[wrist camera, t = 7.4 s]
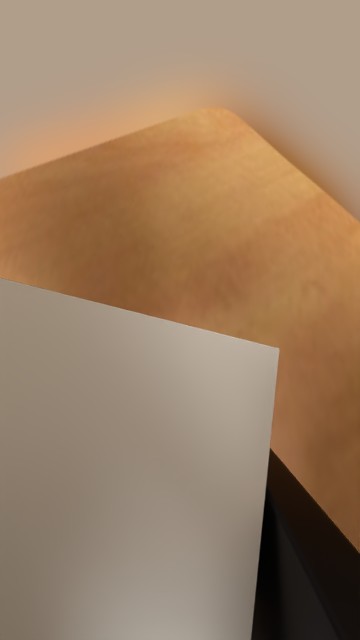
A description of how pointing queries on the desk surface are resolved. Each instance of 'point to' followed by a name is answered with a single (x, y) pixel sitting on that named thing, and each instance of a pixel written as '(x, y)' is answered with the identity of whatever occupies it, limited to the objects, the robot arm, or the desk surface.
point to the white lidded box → (128, 472)
